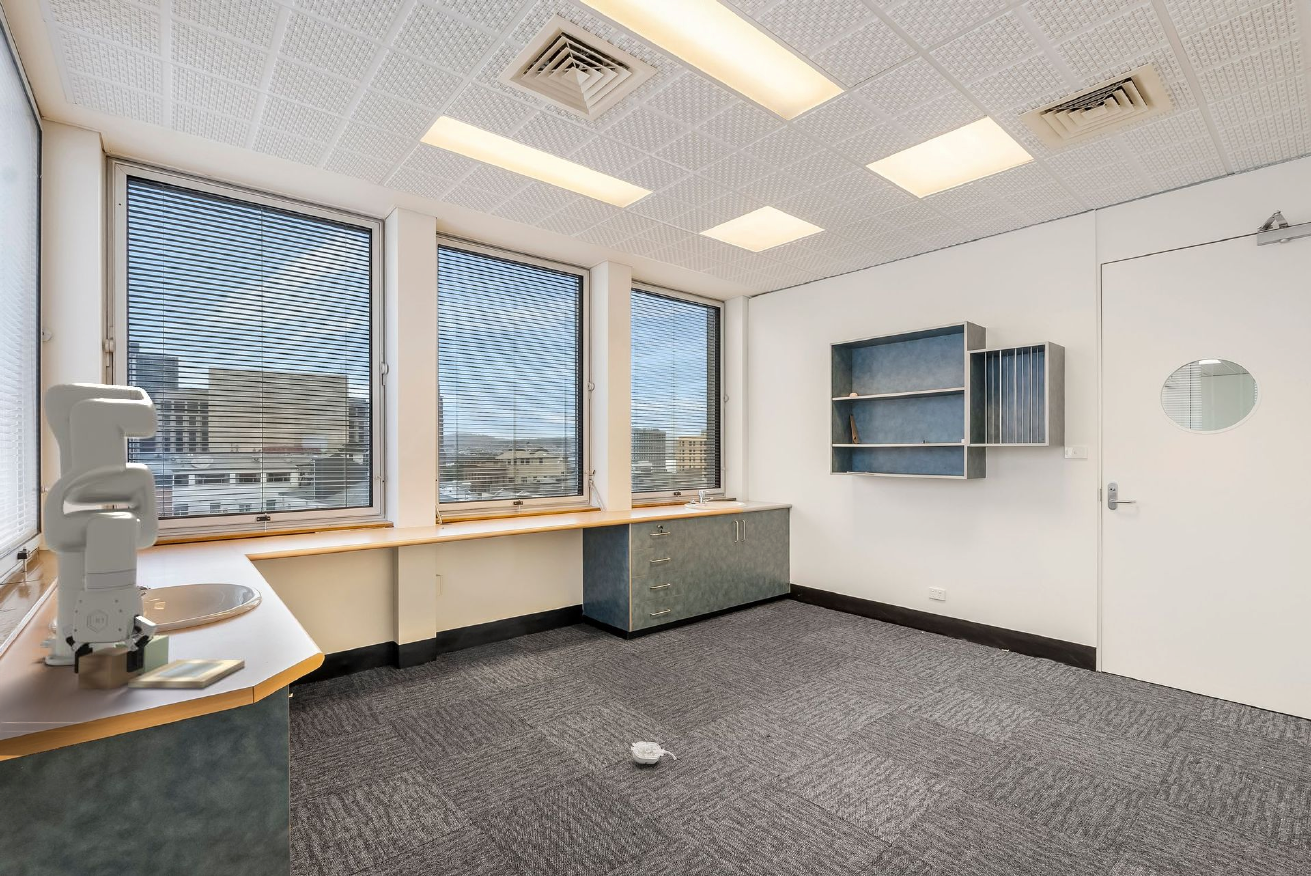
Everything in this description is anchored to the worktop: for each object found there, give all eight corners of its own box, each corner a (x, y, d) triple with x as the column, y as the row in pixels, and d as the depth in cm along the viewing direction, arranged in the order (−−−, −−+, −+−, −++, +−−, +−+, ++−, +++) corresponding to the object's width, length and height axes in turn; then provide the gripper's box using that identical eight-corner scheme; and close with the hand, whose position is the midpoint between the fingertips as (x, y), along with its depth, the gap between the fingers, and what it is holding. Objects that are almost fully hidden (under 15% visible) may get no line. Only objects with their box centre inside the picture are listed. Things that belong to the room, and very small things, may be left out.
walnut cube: (78, 689, 117) (79, 657, 117) (105, 678, 123) (106, 647, 123) (110, 690, 117) (111, 657, 117) (136, 678, 123) (137, 647, 123)
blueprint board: (128, 687, 118) (128, 680, 118) (176, 665, 130) (176, 659, 130) (203, 687, 118) (203, 681, 118) (244, 665, 130) (244, 660, 130)
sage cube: (114, 674, 125) (115, 644, 125) (139, 664, 131) (139, 635, 131) (145, 674, 125) (145, 644, 125) (168, 664, 131) (168, 635, 131)
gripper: (46, 584, 116) (44, 678, 116) (140, 583, 116) (138, 676, 116) (83, 577, 124) (81, 665, 123) (171, 575, 124) (170, 663, 123)
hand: (109, 670), depth 119 cm, fingers open, 9 cm apart
